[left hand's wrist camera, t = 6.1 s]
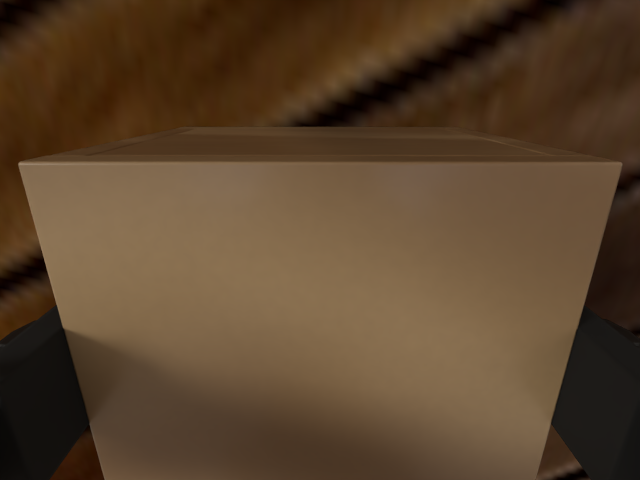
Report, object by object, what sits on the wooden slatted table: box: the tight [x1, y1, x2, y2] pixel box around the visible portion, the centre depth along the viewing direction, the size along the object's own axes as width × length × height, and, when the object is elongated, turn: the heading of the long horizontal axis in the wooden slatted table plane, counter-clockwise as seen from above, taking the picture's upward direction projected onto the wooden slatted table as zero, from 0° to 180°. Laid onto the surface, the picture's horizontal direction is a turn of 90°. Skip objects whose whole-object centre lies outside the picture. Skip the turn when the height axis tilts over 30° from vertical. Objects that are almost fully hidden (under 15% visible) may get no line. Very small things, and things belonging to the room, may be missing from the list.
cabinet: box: [19, 127, 622, 480], centre depth 14 cm, size 16×11×9 cm
